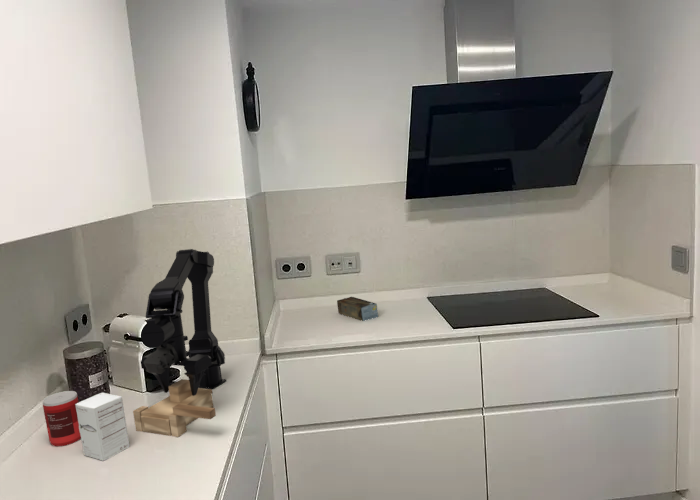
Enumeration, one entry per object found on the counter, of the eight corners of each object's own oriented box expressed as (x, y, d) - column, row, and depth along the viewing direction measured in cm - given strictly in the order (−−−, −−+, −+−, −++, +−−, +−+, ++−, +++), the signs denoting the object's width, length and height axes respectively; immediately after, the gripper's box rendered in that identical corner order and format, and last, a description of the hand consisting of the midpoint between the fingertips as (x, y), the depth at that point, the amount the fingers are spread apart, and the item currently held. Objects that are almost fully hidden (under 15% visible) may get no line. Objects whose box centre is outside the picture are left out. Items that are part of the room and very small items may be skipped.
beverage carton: (362, 322, 217) (360, 305, 217) (337, 314, 234) (335, 299, 233) (378, 317, 222) (377, 301, 221) (353, 310, 238) (351, 295, 237)
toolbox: (180, 404, 151) (178, 386, 151) (220, 408, 146) (218, 389, 145) (136, 430, 137) (132, 410, 136) (178, 437, 131) (175, 416, 131)
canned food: (75, 429, 142) (68, 388, 140) (90, 436, 137) (83, 394, 135) (44, 442, 136) (36, 399, 134) (58, 450, 131) (50, 406, 129)
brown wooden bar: (179, 411, 133) (178, 404, 133) (215, 415, 129) (214, 408, 128) (173, 414, 132) (172, 407, 131) (210, 419, 127) (209, 411, 127)
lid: (186, 390, 150) (183, 372, 150) (212, 393, 146) (210, 375, 146) (141, 415, 136) (138, 396, 135) (169, 419, 132) (166, 399, 131)
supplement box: (82, 456, 127) (73, 403, 125) (111, 441, 133) (103, 391, 131) (102, 462, 123) (93, 408, 121) (131, 446, 129) (122, 395, 127)
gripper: (119, 343, 137) (129, 403, 139) (178, 347, 129) (187, 410, 131) (152, 330, 147) (161, 386, 149) (208, 332, 139) (217, 391, 141)
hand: (180, 393), depth 142 cm, fingers open, 9 cm apart
